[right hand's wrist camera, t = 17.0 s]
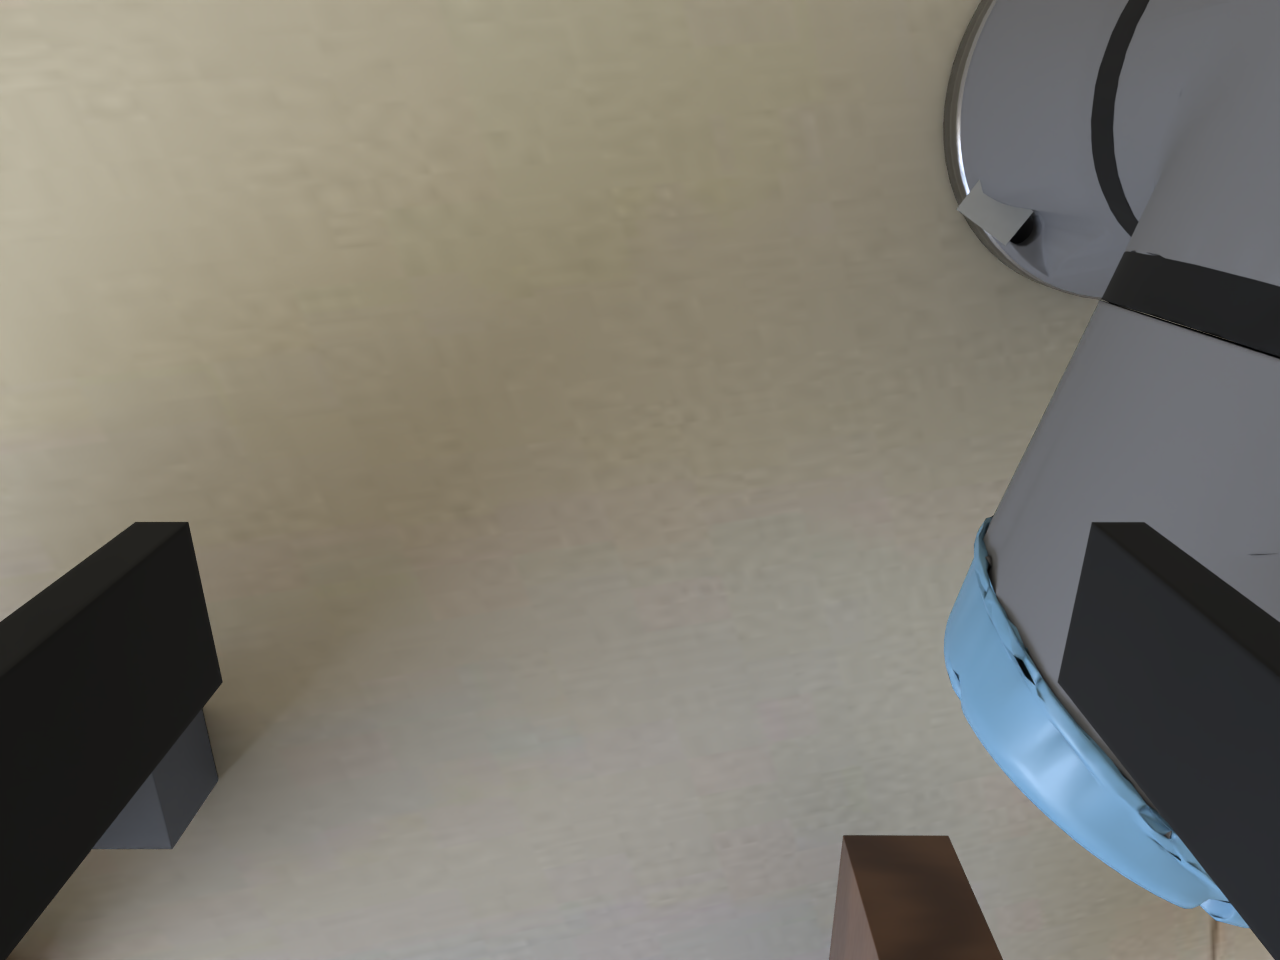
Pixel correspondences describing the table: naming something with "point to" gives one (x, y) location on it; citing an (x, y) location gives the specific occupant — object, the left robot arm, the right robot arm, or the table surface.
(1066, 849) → the table surface
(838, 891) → the brown rectangular block
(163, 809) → the slate grey block
